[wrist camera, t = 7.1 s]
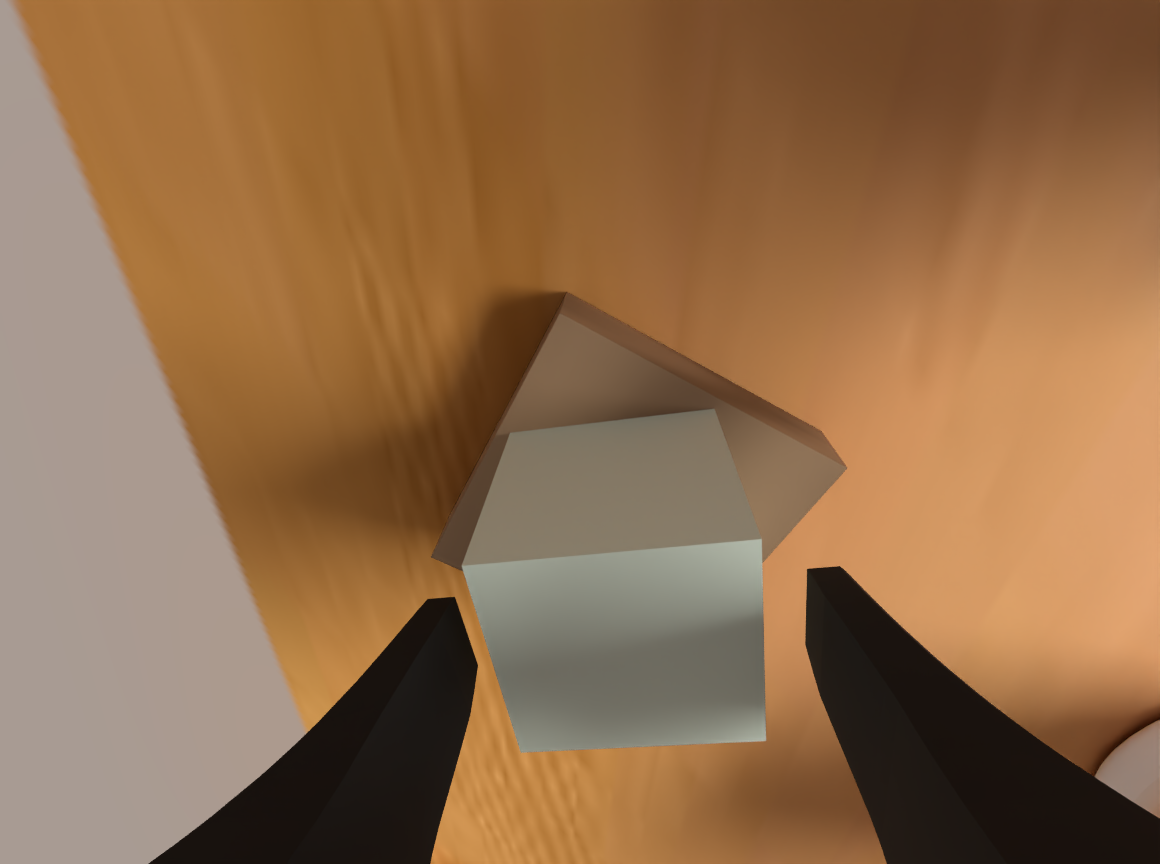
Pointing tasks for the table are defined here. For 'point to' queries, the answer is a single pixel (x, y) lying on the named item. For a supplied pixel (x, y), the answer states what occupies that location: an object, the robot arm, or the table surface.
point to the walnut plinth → (649, 388)
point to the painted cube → (622, 586)
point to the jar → (1136, 768)
